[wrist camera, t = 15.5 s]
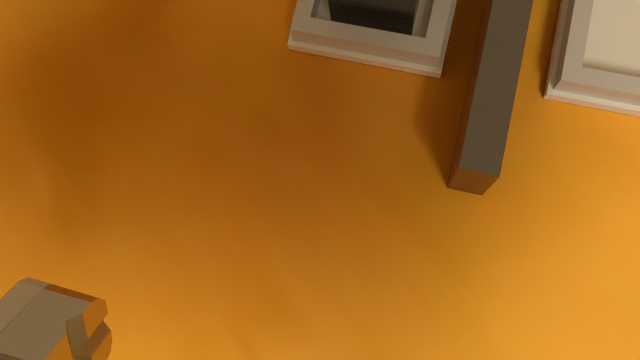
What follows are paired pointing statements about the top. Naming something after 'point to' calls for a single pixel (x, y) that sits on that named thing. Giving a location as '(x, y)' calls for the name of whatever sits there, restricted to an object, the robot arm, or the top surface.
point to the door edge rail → (490, 95)
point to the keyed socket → (375, 38)
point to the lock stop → (376, 14)
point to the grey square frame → (597, 55)
